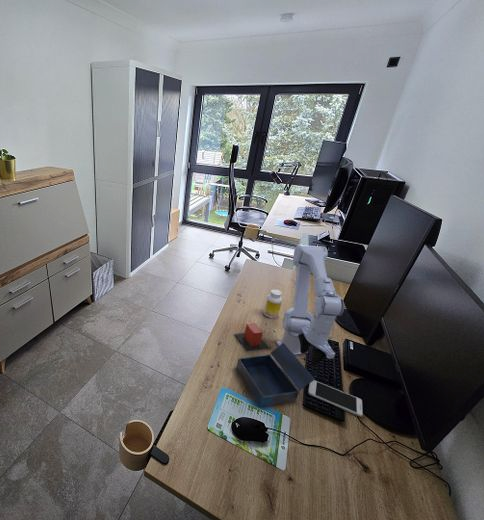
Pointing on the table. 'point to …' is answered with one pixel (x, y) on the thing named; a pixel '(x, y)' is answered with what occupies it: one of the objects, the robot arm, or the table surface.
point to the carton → (266, 381)
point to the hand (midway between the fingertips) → (308, 358)
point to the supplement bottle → (273, 304)
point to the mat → (247, 345)
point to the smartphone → (336, 397)
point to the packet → (253, 334)
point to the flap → (292, 366)
